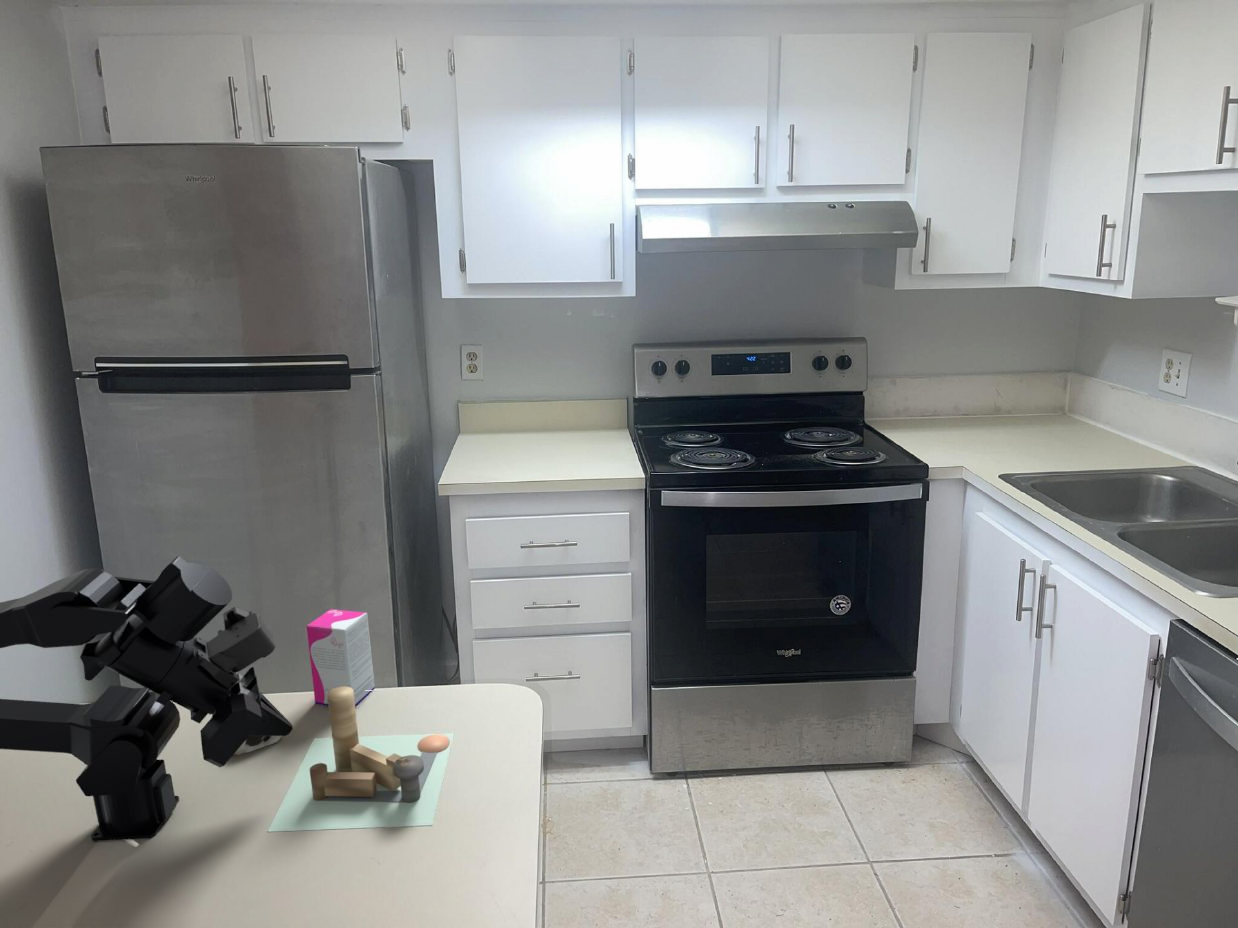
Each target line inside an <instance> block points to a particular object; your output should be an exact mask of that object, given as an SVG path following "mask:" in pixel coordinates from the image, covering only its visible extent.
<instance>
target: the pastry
mask: <svg viewBox="0 0 1238 928" xmlns="http://www.w3.org/2000/svg"><path fill="white" fill-rule="evenodd" d="M282 737H283V736H249V737H248V738H247V739H246V740H245V742H244V743H243V744H242V745H241V746H240V748H239V749H238V750H237V751H236V752H235V753H234V755H236V756H239V755H240V756H241V754H244V753H245V754H247V753H250V752H252V751H255V750H259V749H260V748H263V747H267V746H270V745H273V744H276V743H277V742H279V741H280V740H281V738H282Z"/></svg>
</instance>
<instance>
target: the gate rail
mask: <svg viewBox="0 0 1238 928" xmlns="http://www.w3.org/2000/svg"><path fill="white" fill-rule="evenodd" d="M327 696H328V705H329V706H328V711H329V712H328V713H329V720H330V728H331V729H330V730H331V738H332V739H333V748H334V756H335V765H336V770H337V772H361V773H375V778H376V783H378V784H380V785H382V786H384V787H387V788H389V789H391V790H393V791H395V790H396V789H397V788H399V787H400V786H401V783H400V779H412V778H415V777H417V776H419V775H420V774H421V773H422V772H423V770H424V763H423V759H422V758H421V757H419V756H416V755H408V756H404V757H402V756H399V755H397V754H395V753H394V754H392V755H391V756H389V757H388V756H385V755H383V754H381V753H379V752H376V751H374V750H372V749H369V748H367V747H365V746H363V745H360V744H359V739H358V737H359V732H358V722H357V713H356V707H355V702H354V692H353V689H352V688H350V687H346V686H343V687H337V688H334V689H332V690H330V691H329V692H328V694H327Z"/></svg>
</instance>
